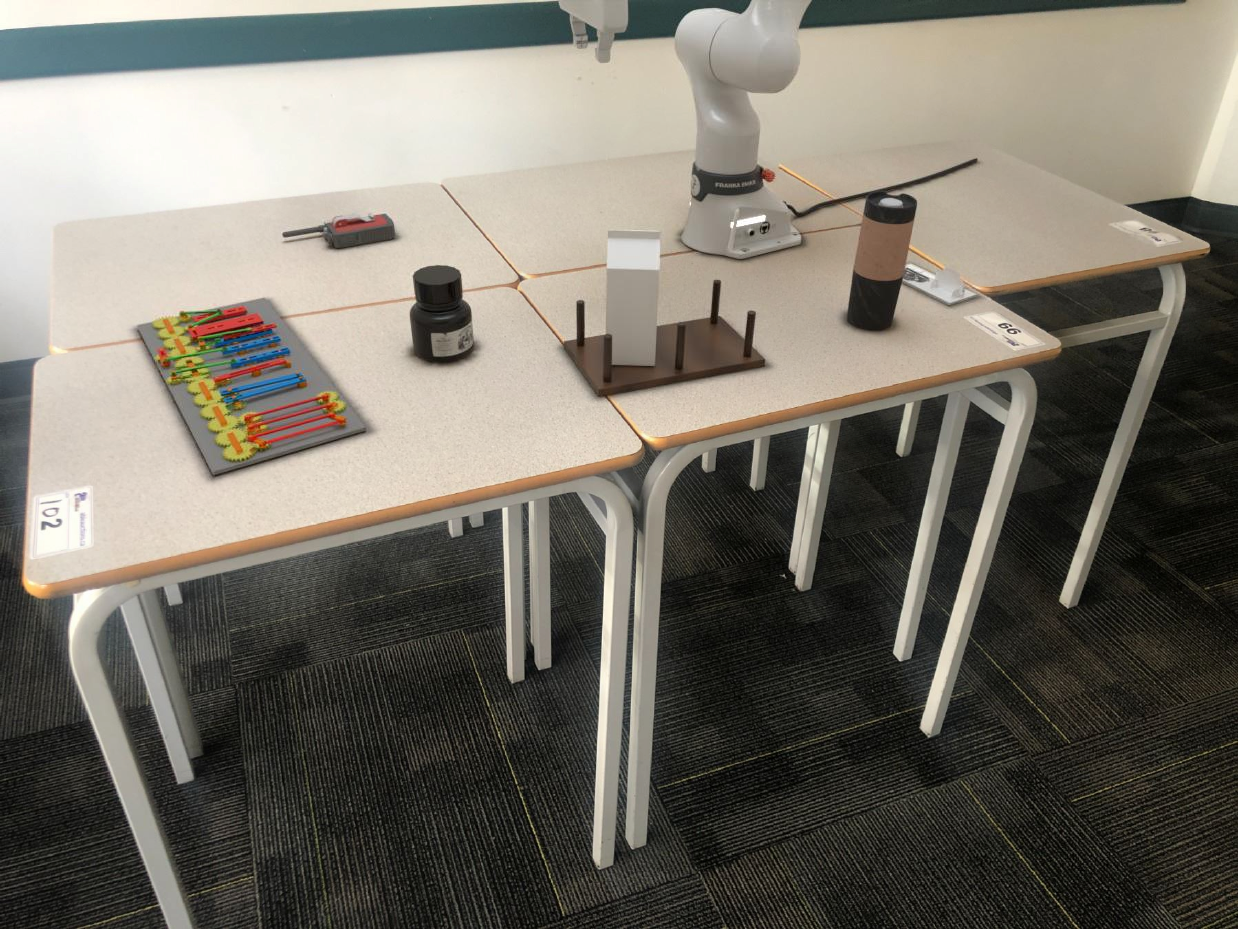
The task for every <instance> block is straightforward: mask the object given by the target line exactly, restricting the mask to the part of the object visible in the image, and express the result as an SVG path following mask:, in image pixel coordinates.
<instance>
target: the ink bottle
mask: <svg viewBox="0 0 1238 929" xmlns="http://www.w3.org/2000/svg"><path fill="white" fill-rule="evenodd" d="M462 278H463V277H462V273H461V271H460V269H458V268H457V267H455V266H450V265H447V264H445V265H444V264H443V265H442V264H436V265H435V264H434V265H428V266H424V267H421V268H419V269H417V270H416V271H414V272H413V274H412V283H413V291H414V299H415V303H414V304H413V305H412V306H411V308H410V309H409V323H410V332H411V339H412V340H411V341H412V348H413V351H414V353H415V355H417V357H419V358H421V359H423V360H426V361H430V362H436V363H449V362H453V361H457V360H460V359H462V358H464V357H466V356H468V355H469V354H470V353H472V352H473V350H474V346H475V340H474V339H475V338H474V326H473V314H472V307H471V305H470V304H469V303H468V302H467V301H466V300H465V299H463V297H464V294H463V292H464V291H463V281H462Z"/></svg>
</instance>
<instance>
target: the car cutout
mask: <svg viewBox="0 0 1238 929" xmlns="http://www.w3.org/2000/svg"><path fill="white" fill-rule="evenodd" d="M902 284H905V285H907V286H909V287H910V288H913V289H914V290H917V291H919V292H921V293H923V294H925V295H927V296H929V297H931V298H933V299H934V300H937V301H938V302H941V303H942V304H945V305H947V306H952V305H956V304H958V303H961V302H964V301H968V300H972V299H973V298H977V296H978V294H977V293H975V292H973V291H971V290H970V289H969V290H968V289H966V288H965V282H964V280H963V279H961V278H960V273H959V271H957V270H956V269H954V268H952V267H948V266H945V267H944V268H943V269H938V270H936V272H935V273H933V272H930V271H928V270H926V269H924V268H922V267H920V266H918V265H916V264H913V263H911V262H910V263H906V265H905V271H904V275H903V280H902Z"/></svg>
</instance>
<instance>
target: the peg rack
mask: <svg viewBox="0 0 1238 929" xmlns="http://www.w3.org/2000/svg"><path fill="white" fill-rule="evenodd" d="M721 290H722V280H721V279H714V280H713V281H712V291H711V305H710V317H703V318H697V319H691V320H685V321H678V322H673V323H666V324H659V325H657V332H656V353H655V366H633V365H612V335H611V334H606V333H605V334H600V335H593V336H588V337H587V336H585V335H586V328H585V327H586V325H585V324H586V314H585V313H586V306H585V305H586V304H585V303H586V301H585V300H583V299H578V300H576V302H575V303H576V304H575V309H576V310H575V311H576V312H575V313H576V315H575V316H576V321H575V322H576V338H574V339H569V340H563V349H564V351H565V352H566V353H567V354H568V356H569V357H570V358H571V360H572V362H573V363H574V364H575V365H576V367H577V368H578V370H579V371H580V372H581V374H582V375H583V377H584V379H586V381H587V383H588V384H589V386H590V387H591V388H592V390H593V391H594V393H595V394H596V395H597V396H598V397H604V396H610V395H615V394H621V393H627V392H631V391H637V390H643V389H648V388H653V387H659V386H664V385H670V384H675V383H681V382H686V381H690V380H691V381H692V380H696V379H701V378H708V377H712V376H713V377H714V376H718V375H723V374H729V373H734V372H740V371H745V370H752V369H756V368H757V369H758V368H762V367H765V364H766V358H765V357H764V356H762V354H761V353H759V352H758V351H757V350H756V349H755V348H754V347H753V344H754V333H755V326H756V316H757V312H756V311H755V310H751V309H750V310H748V311H747V313H746V314H747V315H746V324H745V333H744V337H743V336H742V335H741V334H740V333H739V332H738V331H736V329H734V328H733V326H732V325H730V323H729V322H727V321H726V320H725V319H724V318H723V317H722V316H721V315H719V314H720V313H719V311H720V300H721Z"/></svg>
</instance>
